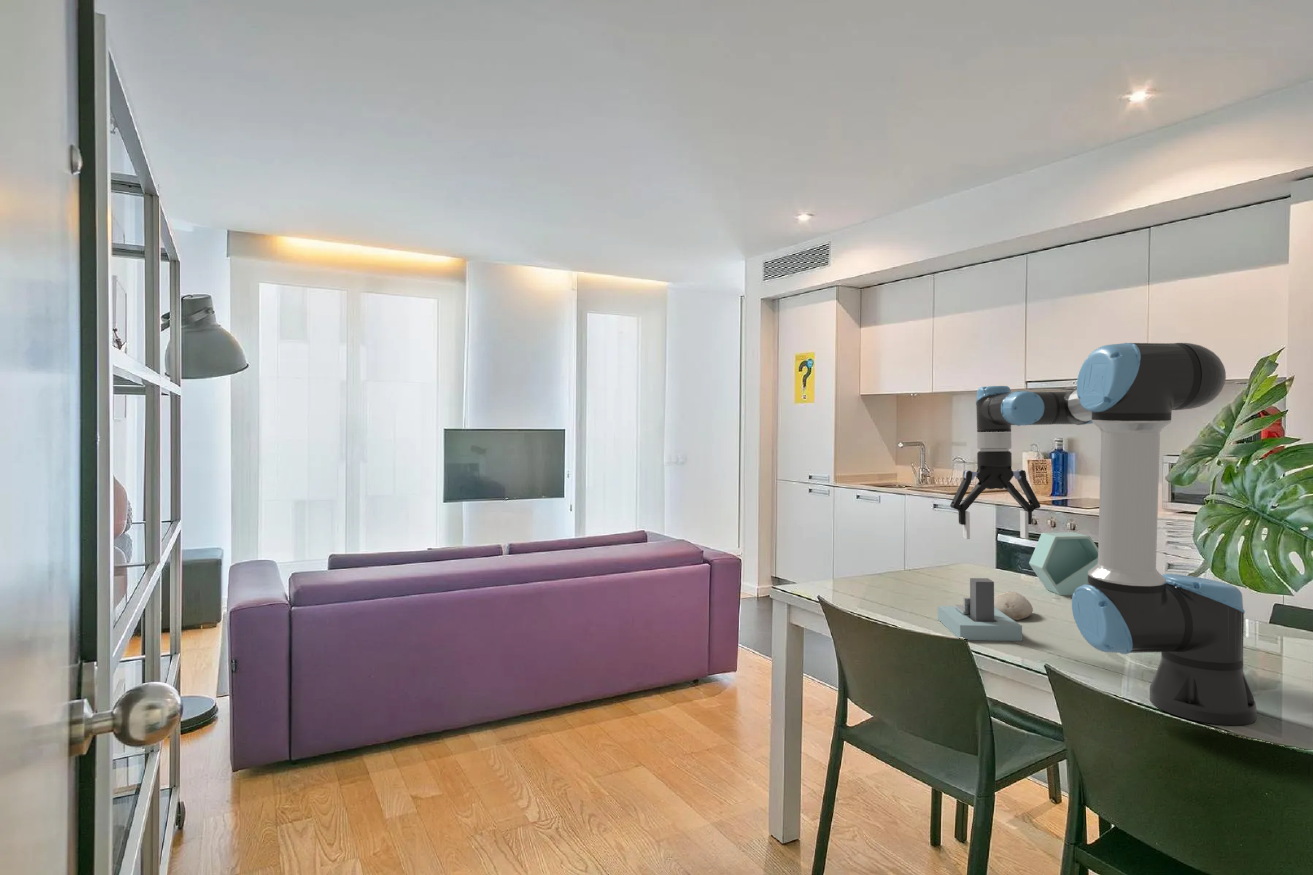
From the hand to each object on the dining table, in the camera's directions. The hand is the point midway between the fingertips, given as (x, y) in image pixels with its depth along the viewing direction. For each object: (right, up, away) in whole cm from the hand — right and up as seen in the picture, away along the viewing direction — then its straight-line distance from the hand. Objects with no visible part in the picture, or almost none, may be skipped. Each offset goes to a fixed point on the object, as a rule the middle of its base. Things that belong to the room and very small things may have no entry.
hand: (995, 538), depth 174 cm
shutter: (-2, -19, +8) cm, 21 cm away
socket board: (-2, -23, +4) cm, 24 cm away
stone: (+12, -23, +18) cm, 32 cm away
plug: (-2, -23, +2) cm, 24 cm away
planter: (+42, -22, +42) cm, 63 cm away
